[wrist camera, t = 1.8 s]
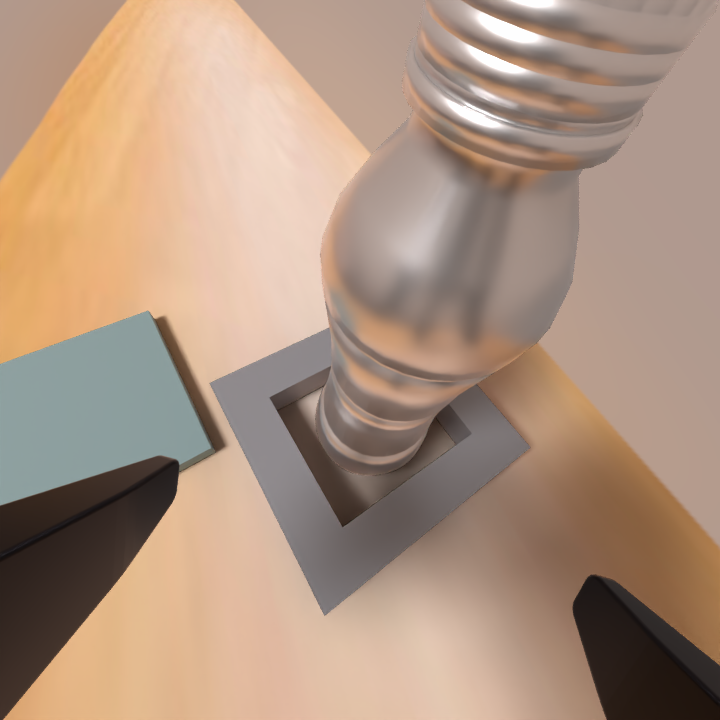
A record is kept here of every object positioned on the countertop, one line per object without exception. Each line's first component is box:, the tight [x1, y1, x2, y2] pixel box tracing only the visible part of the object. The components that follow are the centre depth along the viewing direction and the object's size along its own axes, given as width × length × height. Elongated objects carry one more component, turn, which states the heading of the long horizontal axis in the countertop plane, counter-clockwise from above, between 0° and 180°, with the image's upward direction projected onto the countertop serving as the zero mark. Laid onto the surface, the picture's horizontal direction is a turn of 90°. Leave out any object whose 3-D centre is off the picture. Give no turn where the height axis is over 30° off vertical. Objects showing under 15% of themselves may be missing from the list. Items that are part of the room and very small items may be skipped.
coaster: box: [0, 311, 215, 505], centre depth 19 cm, size 11×11×1 cm
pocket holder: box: [210, 328, 531, 616], centre depth 20 cm, size 14×13×2 cm
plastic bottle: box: [315, 0, 719, 476], centre depth 13 cm, size 6×7×20 cm
